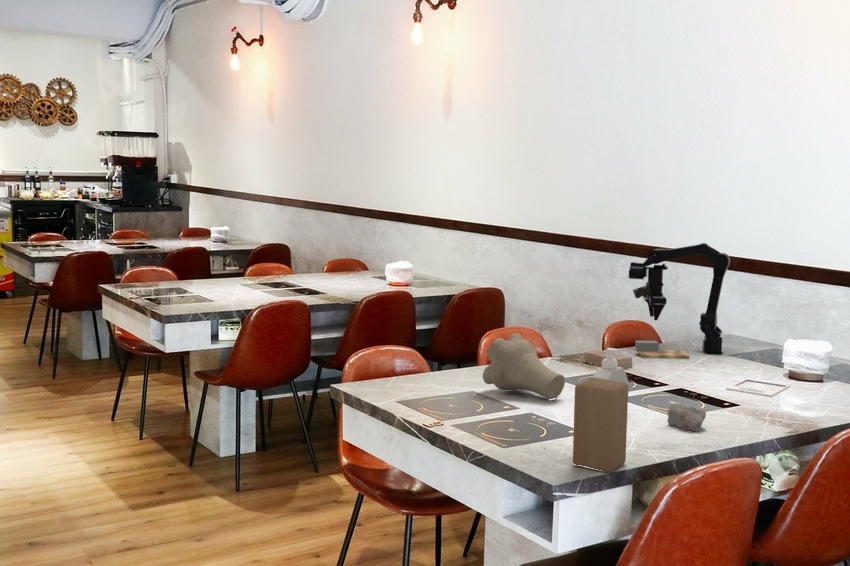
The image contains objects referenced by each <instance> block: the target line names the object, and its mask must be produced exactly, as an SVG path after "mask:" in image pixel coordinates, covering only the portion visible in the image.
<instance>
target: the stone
mask: <svg viewBox="0 0 850 566" xmlns="http://www.w3.org/2000/svg"><path fill="white" fill-rule="evenodd" d="M706 415H707V412H706V411H705V410H702V409H697V408H695V407H694V406H689V407H688V406H686V405H681V404H677V405H675V404H674V405H669V407H668V411H667V417H668V418H667V423H668V425H670V426H674V427H678V428H679V429H682V430H685V431H687V430H688V431H690V432H698V431H700V429H701V427H702V425H703V422H704V420H705V419H706Z"/></svg>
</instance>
